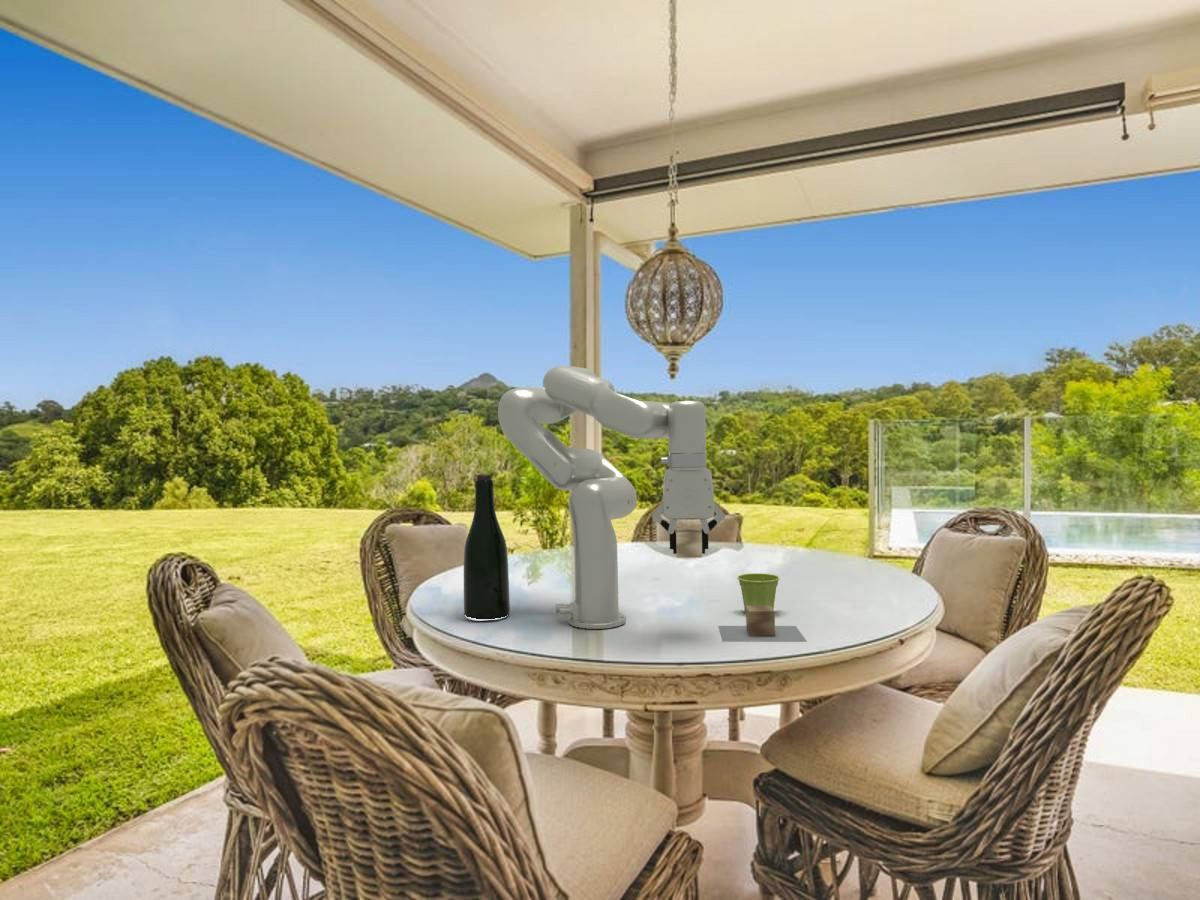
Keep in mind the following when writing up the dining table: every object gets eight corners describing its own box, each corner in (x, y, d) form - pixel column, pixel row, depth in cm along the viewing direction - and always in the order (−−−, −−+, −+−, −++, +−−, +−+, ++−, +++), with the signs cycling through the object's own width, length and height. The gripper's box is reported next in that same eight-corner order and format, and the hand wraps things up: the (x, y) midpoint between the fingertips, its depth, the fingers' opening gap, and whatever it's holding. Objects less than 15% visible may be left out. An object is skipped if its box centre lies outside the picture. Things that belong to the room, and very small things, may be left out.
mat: (722, 644, 139) (722, 641, 139) (718, 628, 151) (718, 625, 151) (807, 644, 138) (807, 641, 138) (795, 628, 150) (795, 625, 150)
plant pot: (781, 620, 157) (780, 581, 157) (737, 619, 159) (736, 580, 159) (779, 611, 166) (778, 573, 166) (738, 610, 168) (737, 573, 168)
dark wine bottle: (472, 611, 172) (469, 473, 172) (515, 612, 170) (512, 473, 170) (457, 622, 162) (454, 475, 162) (502, 623, 160) (499, 474, 160)
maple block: (676, 557, 143) (676, 532, 143) (676, 553, 148) (675, 529, 148) (702, 557, 142) (701, 532, 142) (701, 553, 147) (700, 529, 147)
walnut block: (749, 636, 142) (748, 611, 142) (746, 630, 147) (746, 605, 147) (775, 636, 142) (774, 611, 142) (771, 630, 147) (770, 605, 147)
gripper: (644, 463, 142) (646, 556, 142) (732, 462, 140) (733, 555, 140) (645, 462, 149) (647, 550, 149) (728, 461, 148) (730, 550, 148)
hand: (689, 551), depth 145 cm, fingers closed on maple block, 5 cm apart
